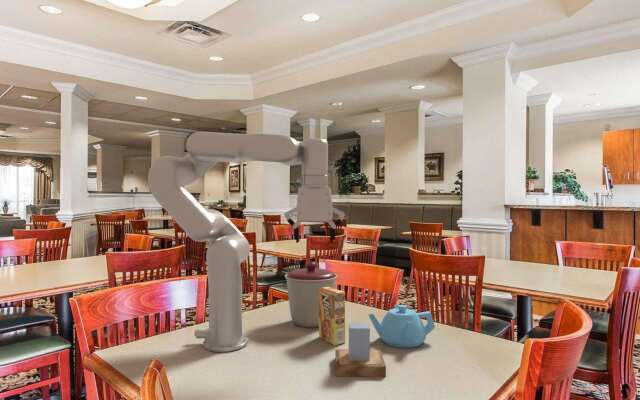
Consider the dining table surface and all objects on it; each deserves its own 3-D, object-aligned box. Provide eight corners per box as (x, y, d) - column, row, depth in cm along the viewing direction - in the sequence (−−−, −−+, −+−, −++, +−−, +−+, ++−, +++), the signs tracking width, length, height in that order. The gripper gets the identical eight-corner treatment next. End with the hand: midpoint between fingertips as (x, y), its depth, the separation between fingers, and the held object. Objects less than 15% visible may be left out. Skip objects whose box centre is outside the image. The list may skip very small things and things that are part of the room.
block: (349, 360, 104) (349, 328, 104) (348, 353, 109) (348, 322, 109) (369, 360, 104) (369, 328, 104) (367, 353, 109) (368, 322, 109)
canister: (274, 322, 144) (274, 261, 144) (313, 312, 157) (313, 256, 156) (308, 335, 131) (308, 268, 131) (348, 323, 143) (348, 262, 143)
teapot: (409, 355, 115) (410, 316, 115) (366, 341, 126) (366, 305, 126) (437, 341, 126) (437, 305, 126) (395, 330, 137) (395, 297, 136)
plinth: (335, 376, 101) (336, 365, 101) (335, 358, 112) (335, 348, 112) (385, 376, 101) (385, 365, 101) (380, 359, 112) (380, 349, 112)
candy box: (346, 343, 124) (346, 291, 124) (334, 345, 122) (334, 293, 122) (329, 335, 131) (329, 286, 131) (317, 337, 129) (317, 287, 129)
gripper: (283, 181, 116) (282, 243, 116) (345, 182, 116) (345, 244, 116) (285, 182, 123) (285, 240, 124) (344, 183, 123) (344, 241, 123)
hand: (314, 242), depth 120 cm, fingers open, 9 cm apart
